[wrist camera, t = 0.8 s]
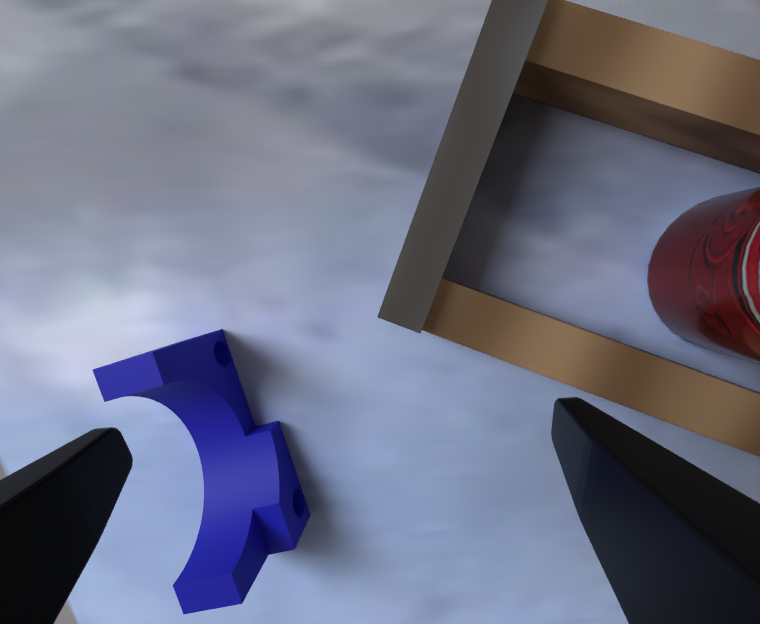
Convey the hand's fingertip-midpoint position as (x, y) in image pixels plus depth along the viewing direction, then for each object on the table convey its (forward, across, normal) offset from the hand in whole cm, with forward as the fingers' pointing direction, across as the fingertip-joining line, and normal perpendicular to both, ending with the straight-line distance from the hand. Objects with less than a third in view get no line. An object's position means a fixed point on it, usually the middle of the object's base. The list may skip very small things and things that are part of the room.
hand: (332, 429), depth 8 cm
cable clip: (+12, +8, +10) cm, 17 cm away
